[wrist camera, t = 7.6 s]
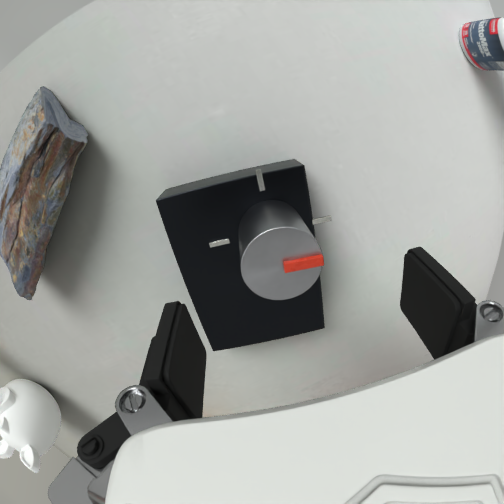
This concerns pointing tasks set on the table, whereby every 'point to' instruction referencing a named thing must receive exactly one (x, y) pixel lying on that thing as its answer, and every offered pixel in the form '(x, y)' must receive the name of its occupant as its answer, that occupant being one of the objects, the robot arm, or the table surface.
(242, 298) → the hob panel
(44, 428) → the piggy bank
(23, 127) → the stone
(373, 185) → the table surface
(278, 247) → the knob
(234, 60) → the table surface
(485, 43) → the pill bottle
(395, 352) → the table surface
